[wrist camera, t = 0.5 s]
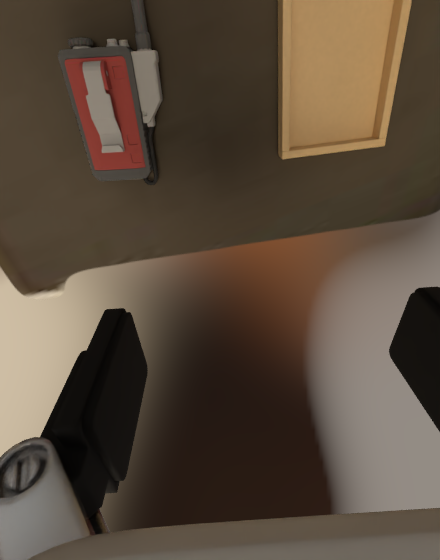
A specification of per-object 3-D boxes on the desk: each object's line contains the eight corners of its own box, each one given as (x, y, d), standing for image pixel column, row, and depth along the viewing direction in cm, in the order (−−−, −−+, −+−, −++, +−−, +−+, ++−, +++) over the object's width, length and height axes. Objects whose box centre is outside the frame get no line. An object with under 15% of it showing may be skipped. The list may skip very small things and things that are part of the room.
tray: (277, -65, 24) (282, -76, 22) (414, -87, 23) (431, -100, 22) (278, 155, 34) (282, 159, 32) (375, 142, 33) (384, 146, 31)
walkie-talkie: (175, 179, 35) (141, -74, 23) (172, 191, 31) (129, -102, 20) (102, 184, 35) (33, -67, 23) (90, 196, 31) (0, -94, 20)
